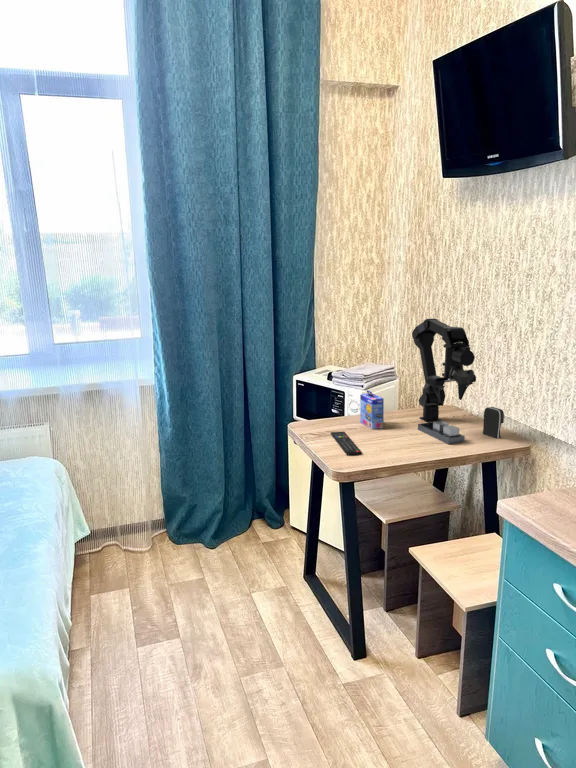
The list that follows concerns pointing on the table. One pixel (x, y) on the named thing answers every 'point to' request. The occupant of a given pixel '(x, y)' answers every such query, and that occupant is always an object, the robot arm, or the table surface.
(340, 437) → the remote control
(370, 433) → the table surface
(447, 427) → the light grey block
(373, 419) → the ink cartridge box
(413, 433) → the table surface
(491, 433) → the black zippered case
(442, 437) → the dark grey tray
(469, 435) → the table surface
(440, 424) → the grey block
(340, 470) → the table surface
